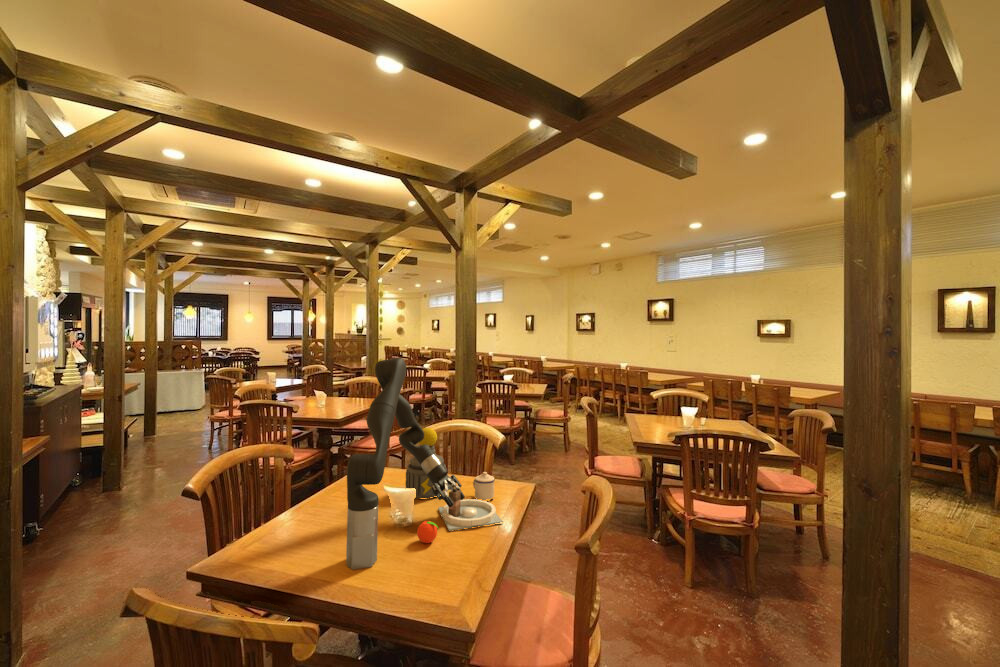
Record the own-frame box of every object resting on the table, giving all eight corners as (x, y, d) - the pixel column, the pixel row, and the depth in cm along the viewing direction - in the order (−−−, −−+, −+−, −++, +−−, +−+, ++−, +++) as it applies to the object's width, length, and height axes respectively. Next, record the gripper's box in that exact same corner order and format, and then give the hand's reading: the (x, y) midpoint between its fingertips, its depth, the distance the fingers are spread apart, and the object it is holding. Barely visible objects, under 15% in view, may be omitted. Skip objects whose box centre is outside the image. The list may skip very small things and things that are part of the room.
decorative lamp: (406, 486, 194) (407, 424, 195) (445, 484, 198) (446, 423, 199) (404, 501, 176) (405, 432, 177) (447, 499, 179) (448, 431, 180)
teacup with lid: (498, 498, 180) (499, 472, 181) (483, 504, 174) (484, 477, 174) (480, 491, 189) (481, 466, 189) (465, 496, 182) (466, 470, 183)
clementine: (443, 539, 142) (443, 518, 142) (434, 548, 135) (435, 527, 135) (422, 536, 144) (422, 516, 144) (413, 545, 137) (413, 524, 137)
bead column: (460, 515, 160) (460, 487, 160) (455, 518, 156) (456, 490, 157) (453, 513, 161) (453, 486, 161) (448, 516, 158) (448, 489, 158)
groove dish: (502, 524, 154) (502, 516, 154) (449, 531, 147) (449, 523, 147) (486, 503, 174) (486, 496, 174) (438, 509, 167) (438, 502, 167)
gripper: (429, 467, 156) (454, 502, 151) (449, 458, 169) (472, 490, 164) (418, 479, 158) (442, 514, 153) (438, 469, 171) (461, 501, 166)
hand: (457, 502), depth 158 cm, fingers open, 8 cm apart
